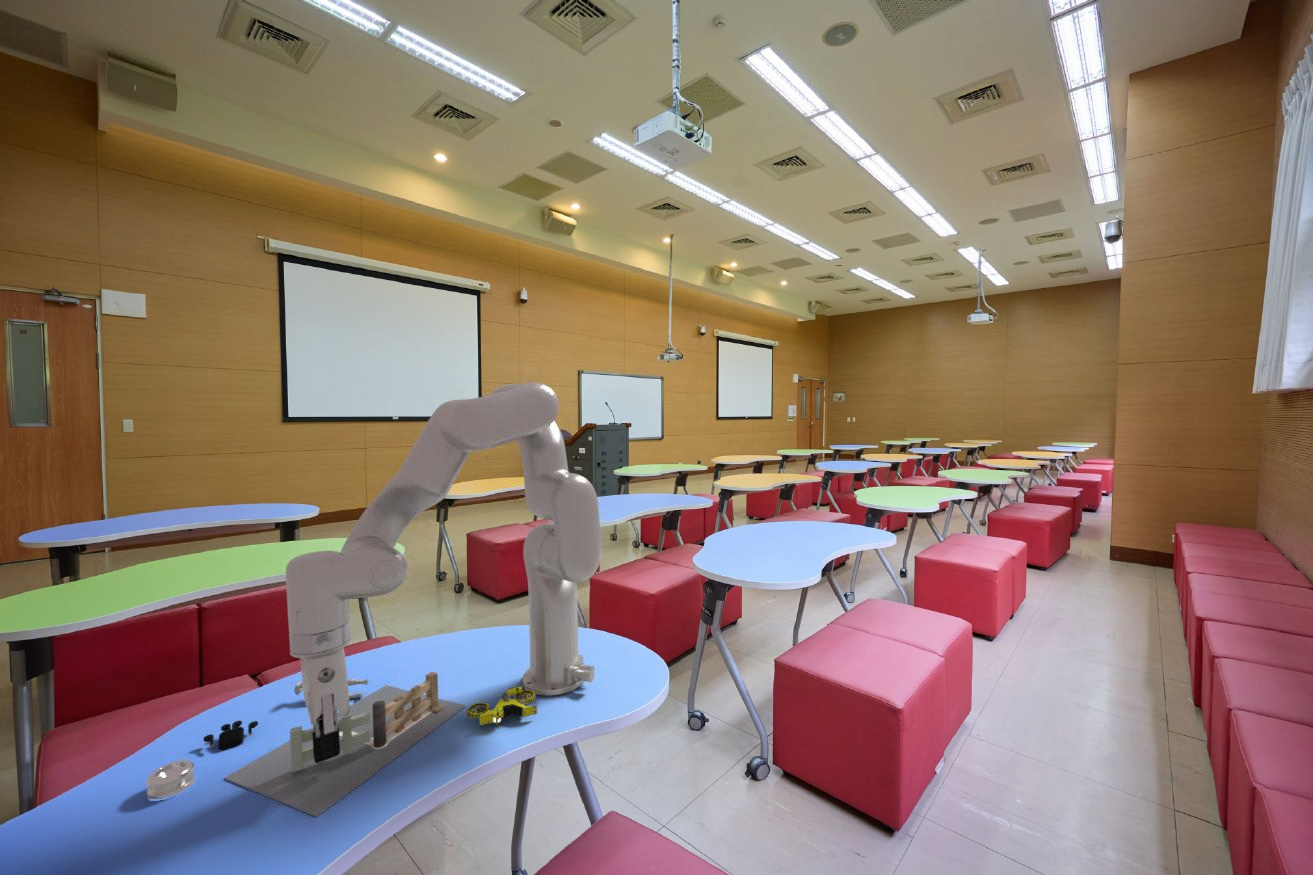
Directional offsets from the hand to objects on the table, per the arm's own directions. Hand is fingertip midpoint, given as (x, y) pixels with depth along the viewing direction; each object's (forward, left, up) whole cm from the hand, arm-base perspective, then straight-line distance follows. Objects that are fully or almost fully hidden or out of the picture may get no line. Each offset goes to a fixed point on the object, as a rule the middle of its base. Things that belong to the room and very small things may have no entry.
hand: (327, 756), depth 78 cm
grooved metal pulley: (+18, +10, -3) cm, 21 cm away
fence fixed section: (-2, -13, -3) cm, 13 cm away
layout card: (+3, -8, -3) cm, 9 cm away
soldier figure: (+19, -15, -3) cm, 24 cm away
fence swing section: (+2, -2, -2) cm, 4 cm away
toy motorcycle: (-16, -21, -3) cm, 27 cm away
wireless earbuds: (+23, 0, -3) cm, 23 cm away
